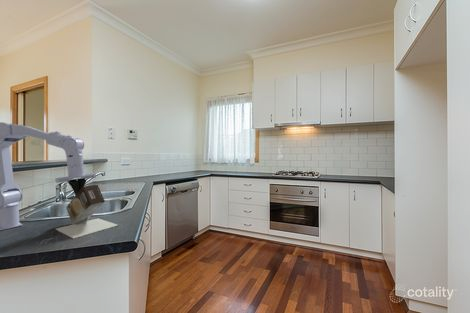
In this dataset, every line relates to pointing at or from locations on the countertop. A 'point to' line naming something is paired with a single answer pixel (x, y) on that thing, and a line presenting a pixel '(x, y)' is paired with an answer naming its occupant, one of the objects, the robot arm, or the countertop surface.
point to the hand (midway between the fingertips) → (78, 196)
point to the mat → (86, 228)
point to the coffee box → (85, 204)
